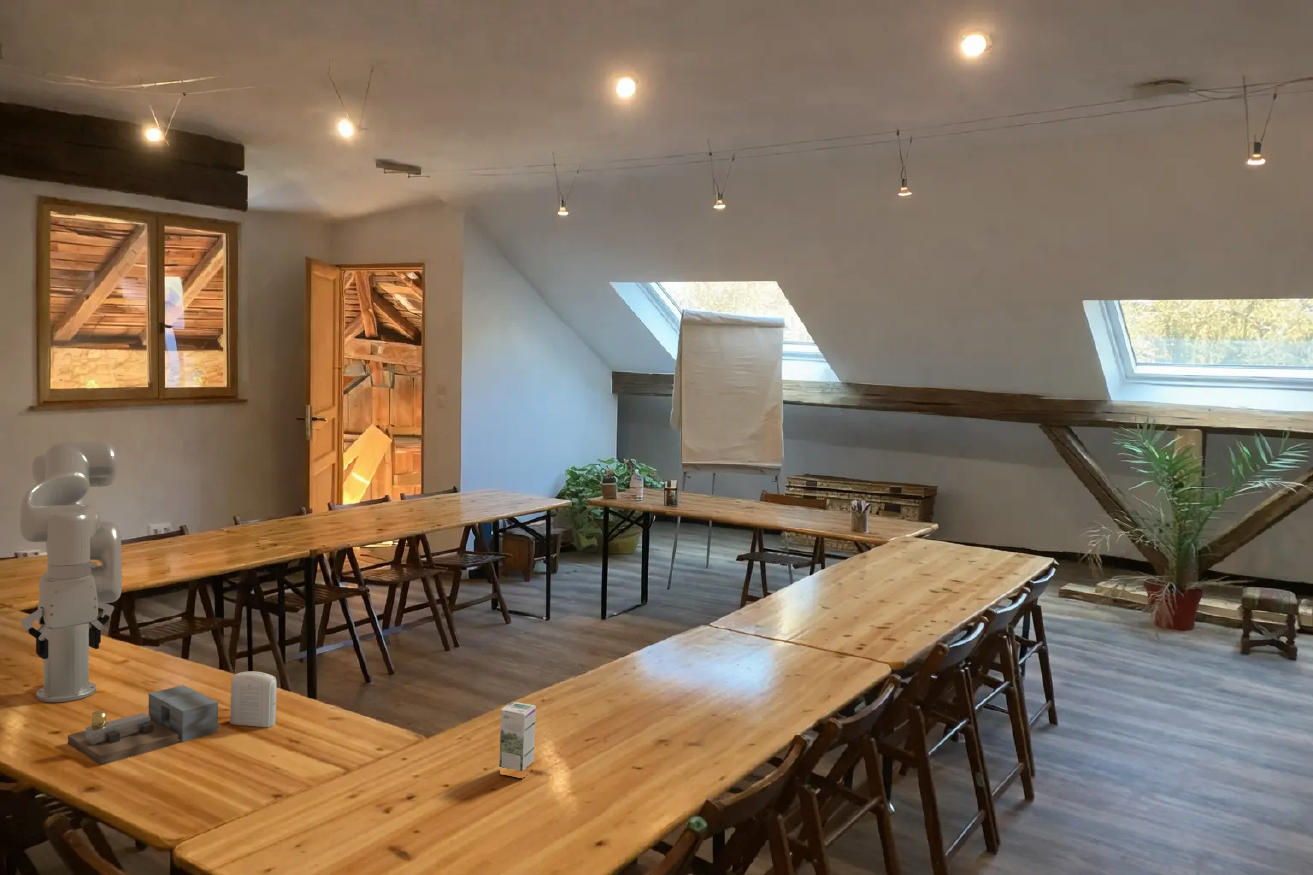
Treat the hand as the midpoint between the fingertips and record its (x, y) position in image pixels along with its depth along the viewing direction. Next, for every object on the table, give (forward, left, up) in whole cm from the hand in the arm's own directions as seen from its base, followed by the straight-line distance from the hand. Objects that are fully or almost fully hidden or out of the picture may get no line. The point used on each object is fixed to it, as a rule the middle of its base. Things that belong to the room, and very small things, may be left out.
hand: (69, 652), depth 200 cm
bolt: (-1, +10, -21) cm, 23 cm away
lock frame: (-1, +16, -23) cm, 28 cm away
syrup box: (+72, +59, -23) cm, 96 cm away
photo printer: (+8, +36, -23) cm, 44 cm away
